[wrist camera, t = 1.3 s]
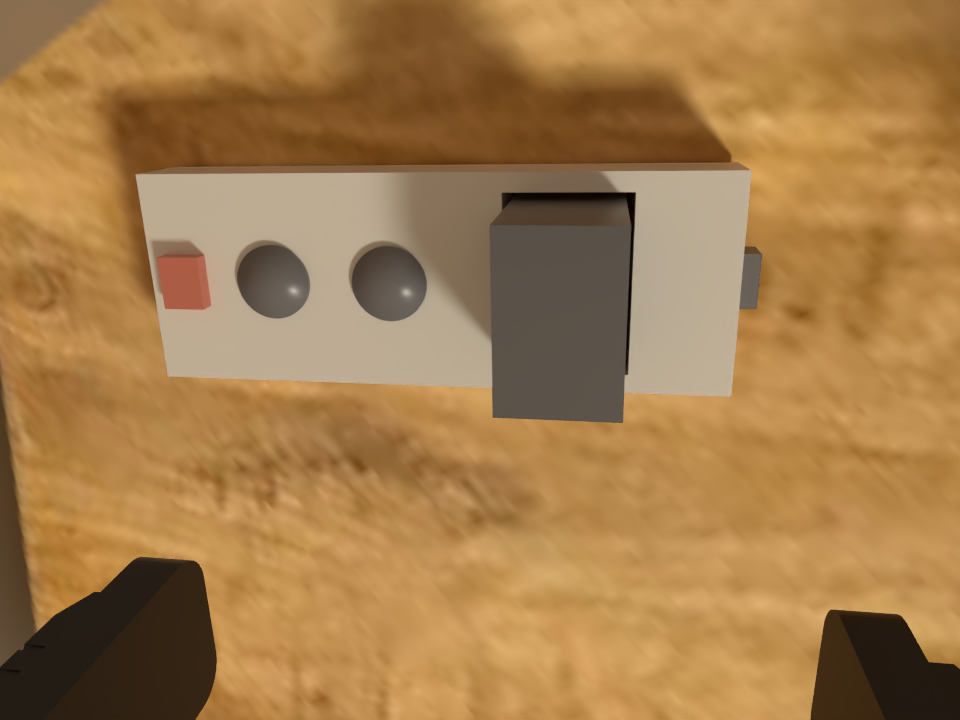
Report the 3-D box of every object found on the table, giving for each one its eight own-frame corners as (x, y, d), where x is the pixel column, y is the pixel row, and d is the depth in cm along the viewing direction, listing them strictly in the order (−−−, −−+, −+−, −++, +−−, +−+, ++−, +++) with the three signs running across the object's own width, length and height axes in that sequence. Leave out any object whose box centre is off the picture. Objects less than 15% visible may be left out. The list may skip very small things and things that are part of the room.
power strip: (760, 162, 28) (780, 171, 25) (740, 369, 31) (757, 403, 28) (176, 166, 32) (126, 176, 28) (203, 352, 34) (160, 381, 31)
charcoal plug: (625, 190, 29) (631, 225, 22) (619, 342, 31) (622, 422, 24) (519, 190, 30) (489, 225, 22) (519, 340, 32) (492, 417, 24)
